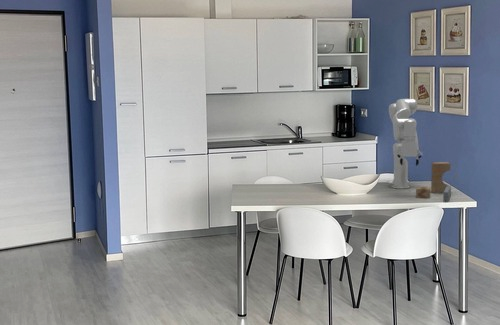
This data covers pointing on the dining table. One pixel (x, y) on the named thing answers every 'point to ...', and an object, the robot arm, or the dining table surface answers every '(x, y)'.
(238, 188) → the dining table surface
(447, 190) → the charcoal board
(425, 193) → the walnut block
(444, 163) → the decorative block
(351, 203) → the dining table surface
